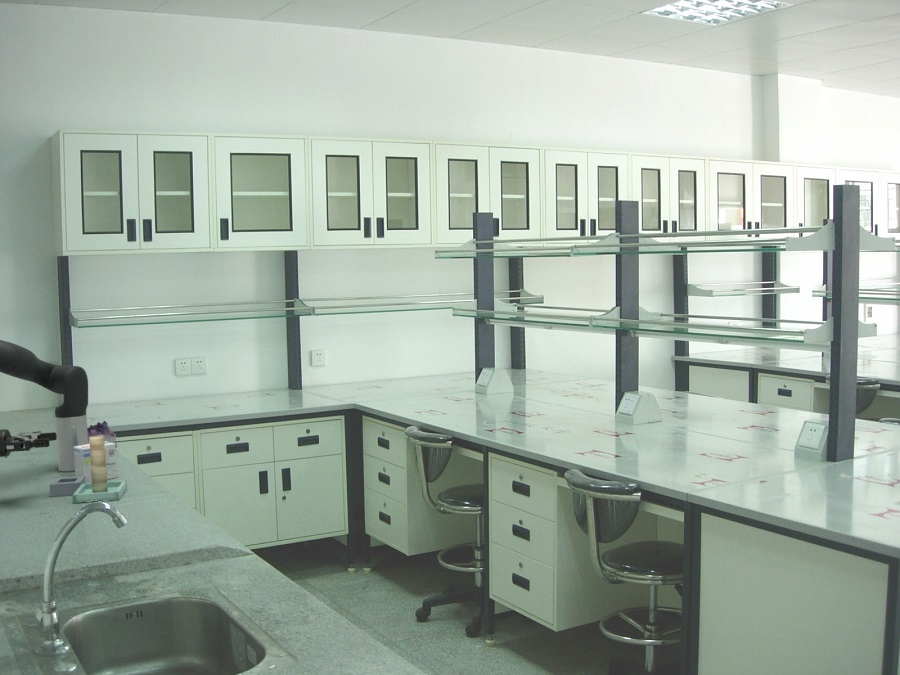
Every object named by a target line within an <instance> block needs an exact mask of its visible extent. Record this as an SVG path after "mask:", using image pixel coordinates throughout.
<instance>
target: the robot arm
mask: <svg viewBox="0 0 900 675" xmlns="http://www.w3.org/2000/svg"><path fill="white" fill-rule="evenodd" d="M0 373H2V374H5V375H7V376H10V377H14V378H17V379H20V380H23V381H28V382H31V383H34V384H36V385H39V386H40V387H42V388H45V389H46V390H49V391H50V392H52V393H54V394H58V395H63V403H62V404H61V405H59V406H56V407H55V408H54V417H55V418H54V420H55V432H42V431H41V430H40V431H39V430H37V431H30V432H18V433H16V435H14V436H12V435H11V432H10V430H9V429H7V428H4V429H0V458H2V457H3V458H5V457H9V456H10V455H11V453H12V452H29V451H31V450H33V449H38V448H40V449H41V448H48V447H50V445H51V444H50V441H51V442H53V441H56V448H57V450H56V451H57V464H58V465H57V467H58V471H59V472H75V461H74V448H73V447H74V446H81V445H86V444H88V433H87V428H88V422H87V420H88V419H87V408H88V405H89V378H88V374H87V372H86V370H85V369H84V368H83V367H82V366H79V365H58V364H54V363H50V362H48V361H44V360H42V359H40V358H39V357H38V356H37V355H36V354H35V353H34V352H32V351H31V350H29V349H28V348H26V347H23V346H20V345H19V344H16V343H13V342H11V341H10V342H9V341H6V340H2V339H0ZM35 437H36V438H35Z"/></svg>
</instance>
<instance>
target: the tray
mask: <svg viewBox="0 0 900 675" xmlns="http://www.w3.org/2000/svg"><path fill="white" fill-rule="evenodd" d="M107 488H108V492H100V493H92V482H91V483H83V484H82V485H81V486H80V487H79V488H78V489H77V491H76V492H75V493H74V494H73V495H71V496H72V504H73V503H75V504H82V503H81V502H87V501H91V500H94V501H95V500H97V501H102V502H104V501H103V500H108V501H107V502H113V501H114V500H115V501H120V500H121V498H122V496H124V494H123V493H125V492H126V491H127V489H128V481H127V480H126V479H125V480H114V481H107ZM110 500H112V501H110ZM90 503H94V502H93V501H91V502H90Z"/></svg>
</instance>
